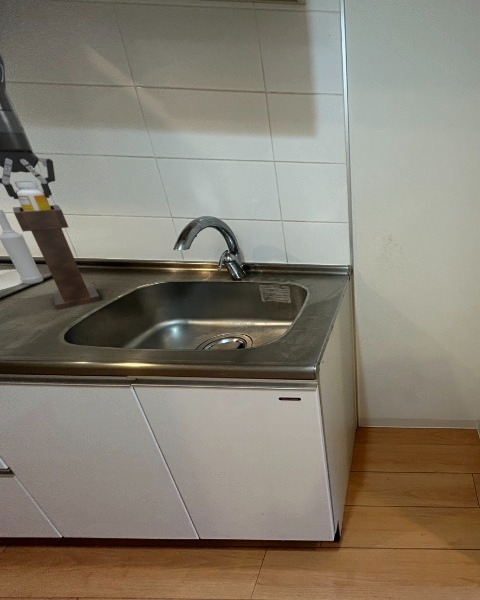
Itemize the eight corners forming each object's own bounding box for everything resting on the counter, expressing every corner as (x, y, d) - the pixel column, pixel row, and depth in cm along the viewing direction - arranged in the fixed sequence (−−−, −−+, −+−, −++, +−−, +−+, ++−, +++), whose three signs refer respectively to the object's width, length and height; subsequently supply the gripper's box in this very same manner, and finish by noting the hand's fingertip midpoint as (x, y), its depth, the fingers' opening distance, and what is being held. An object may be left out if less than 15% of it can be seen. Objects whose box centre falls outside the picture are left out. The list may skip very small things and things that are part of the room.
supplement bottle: (54, 214, 92) (40, 180, 88) (54, 218, 89) (39, 183, 85) (27, 216, 89) (11, 180, 84) (26, 220, 85) (9, 183, 81)
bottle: (42, 277, 113) (8, 208, 102) (45, 281, 110) (11, 210, 99) (21, 281, 109) (-17, 209, 98) (24, 285, 106) (-14, 212, 95)
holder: (57, 309, 94) (10, 213, 81) (54, 298, 100) (10, 207, 87) (100, 299, 101) (64, 210, 88) (95, 290, 107) (60, 204, 94)
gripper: (42, 132, 86) (66, 194, 94) (-43, 126, 76) (-8, 197, 84) (44, 133, 82) (70, 198, 89) (-46, 127, 72) (-8, 201, 79)
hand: (32, 197), depth 86 cm, fingers closed on supplement bottle, 5 cm apart
